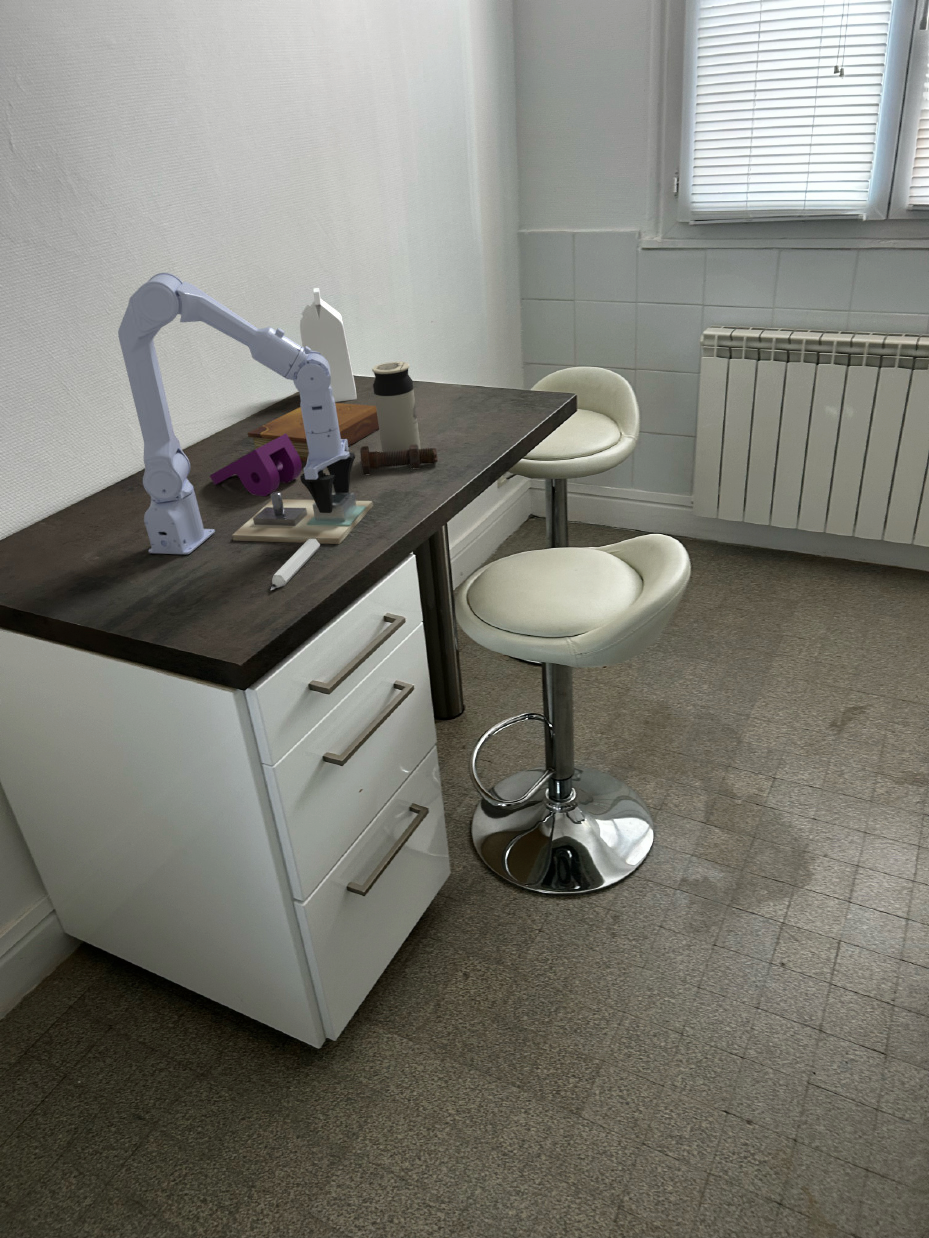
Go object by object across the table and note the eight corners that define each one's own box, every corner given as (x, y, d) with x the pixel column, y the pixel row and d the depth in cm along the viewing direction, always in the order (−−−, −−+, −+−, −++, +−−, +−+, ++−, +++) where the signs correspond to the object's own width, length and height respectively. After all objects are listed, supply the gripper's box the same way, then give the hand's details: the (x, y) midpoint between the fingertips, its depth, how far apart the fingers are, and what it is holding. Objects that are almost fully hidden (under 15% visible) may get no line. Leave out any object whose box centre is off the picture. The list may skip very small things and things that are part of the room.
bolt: (438, 474, 183) (363, 480, 183) (436, 455, 186) (362, 461, 185) (437, 455, 178) (360, 461, 178) (435, 435, 181) (359, 441, 180)
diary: (322, 466, 190) (317, 439, 187) (253, 458, 199) (247, 433, 196) (382, 430, 207) (378, 405, 204) (316, 424, 216) (311, 400, 213)
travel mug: (377, 459, 188) (365, 372, 180) (389, 446, 195) (377, 361, 186) (414, 459, 186) (403, 371, 178) (425, 446, 193) (415, 360, 184)
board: (339, 543, 153) (338, 536, 153) (233, 540, 159) (231, 533, 158) (372, 506, 166) (371, 499, 166) (273, 504, 172) (272, 497, 171)
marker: (271, 599, 140) (313, 553, 153) (281, 594, 139) (322, 547, 152) (260, 586, 139) (303, 540, 152) (270, 580, 138) (312, 535, 151)
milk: (356, 399, 230) (340, 291, 217) (311, 405, 229) (291, 297, 216) (355, 386, 240) (339, 283, 227) (311, 392, 239) (293, 288, 227)
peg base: (295, 525, 159) (290, 499, 157) (254, 524, 161) (248, 498, 159) (307, 514, 163) (302, 488, 161) (267, 513, 166) (261, 487, 163)
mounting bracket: (223, 517, 185) (278, 489, 174) (200, 480, 183) (255, 449, 171) (253, 499, 192) (308, 471, 180) (232, 464, 190) (286, 433, 178)
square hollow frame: (344, 521, 158) (342, 505, 157) (315, 520, 160) (312, 504, 158) (356, 508, 163) (354, 492, 161) (327, 508, 164) (325, 492, 163)
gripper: (326, 442, 146) (339, 520, 153) (359, 414, 158) (370, 488, 165) (286, 442, 148) (301, 519, 155) (322, 414, 160) (334, 487, 167)
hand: (334, 503), depth 160 cm, fingers open, 7 cm apart
